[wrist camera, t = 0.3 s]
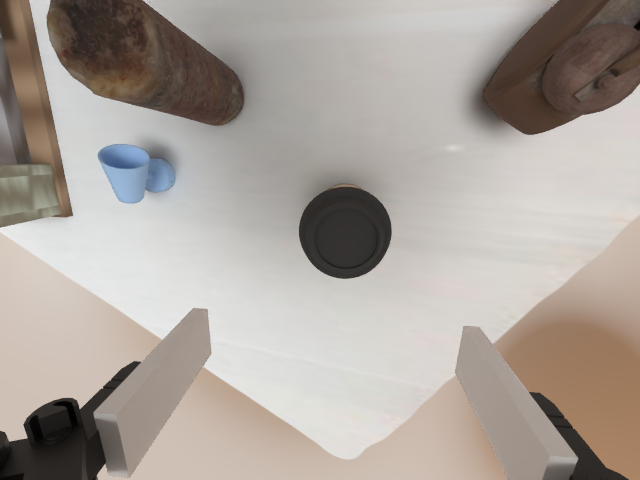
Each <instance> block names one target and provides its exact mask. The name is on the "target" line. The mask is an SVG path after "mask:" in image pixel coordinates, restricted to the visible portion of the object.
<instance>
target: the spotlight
mask: <svg viewBox="0 0 640 480" xmlns="http://www.w3.org/2000/svg"><path fill="white" fill-rule="evenodd" d="M98 158H99V160H100V163H101V165H102V167H103V169H104V171H105V173H106V175H107V177H108V179H109V182H110V184H111V186H112V188H113V190H114V192H115V194H116V196H117V198H118V200H119V201H121V202H123V203H128V204H133V203H137V202H140V201H141V200H142V199H143V198H144V192H145V189H146V190H148V191H150V192H161V191H165V190H168V189H170V188H171V187H172V186H173V184H174V182H175V172H174V170H173V168H172V166H171V165H170V164H169V163H168V162H167V161H165V160H163V159H160V158H152V159H150V156H149V154H148V153H147V152H146V151H145V150H143V149H142V148H139V147H137V146H133V145H127V144H115V145H110V146H107V147H104V148H103V149H101V150H100V151H99V153H98Z"/></svg>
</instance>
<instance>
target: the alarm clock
mask: <svg viewBox="0 0 640 480" xmlns="http://www.w3.org/2000/svg"><path fill="white" fill-rule="evenodd" d="M639 84H640V0H559V1H558V2H557V3H556V4H555V5H554V6H553V7H552V8H551V9H550V10H549V11H548V12H547V13H546V14H545V15H544V16H543V17H542V18H541V19H540V20H539V21H538V22H537V23H536V24H535V25H534V26H533V27H532V28H531V29H530V30H529V31H528V32H527V33H526V34H525V36H524V37H523V38H522V39H521V40H520V41H519V42H518V43H517V45H516V46H515V47H514V48H513V49H512V51H511V52H510V53H509V54H508V56H507V57H506V58H505V59H504V61H503V62H502V64H501V65H500V67H499V68H498V70H497V71H496V73H495V74H494V76H493V77H492V79H491V80H490V82H489V83H488V85H487V87H486V88H485V89H484V90H483V99H484V100H485V101H486V102H487V103H488V104H489V106H490V107H491V108H492V109H493V110H494V111H495V113H496V114H497V115H498V116H499V117H501V118H502V119H503V120H504V121H506V122H507V123H508V124H510V125H511V126H513V127H514V128H516V129H517V130H519V131H520V132H522V133H524V134H527V135H533V134H539V133H542V132H546V131H548V130H551V129H554V128H556V127H558V126H561V125H563V124H566V123H568V122H570V121H572V120H574V119H576V118H578V117H579V116H581V115H586V114H591V113H596V112H600V111H604V110H606V109H608V108H610V107H612V106H614V105H616V104H618V103H620V102H621V101H622V100H623V99H625V98H626V97H627V96H628V95H630V94H631V93H632V92H633V91H634V90H635V89H636V87H637V86H638V85H639Z"/></svg>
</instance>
